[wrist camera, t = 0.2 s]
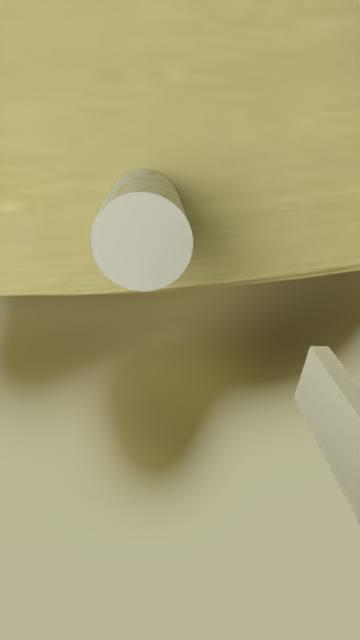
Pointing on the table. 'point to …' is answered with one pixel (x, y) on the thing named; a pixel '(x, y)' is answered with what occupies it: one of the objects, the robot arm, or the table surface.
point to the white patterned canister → (142, 233)
